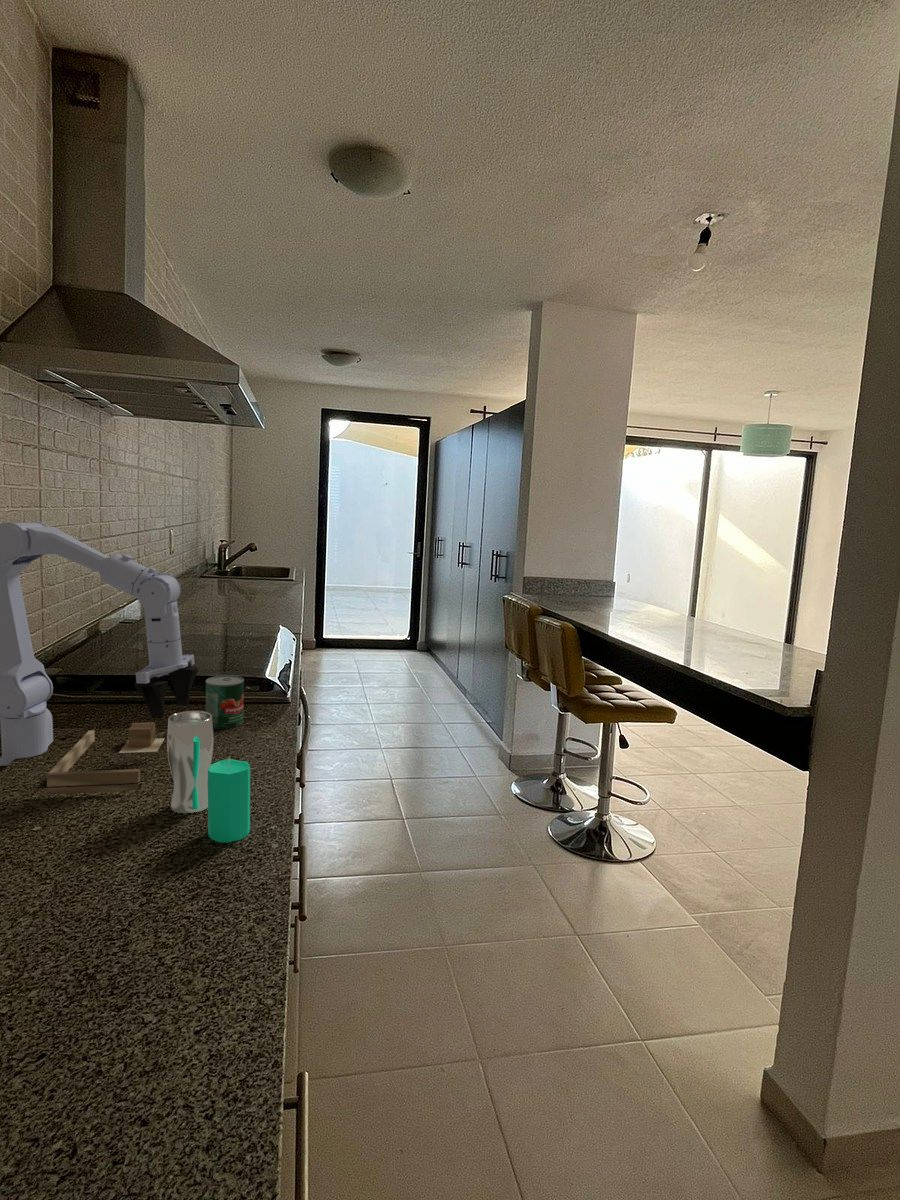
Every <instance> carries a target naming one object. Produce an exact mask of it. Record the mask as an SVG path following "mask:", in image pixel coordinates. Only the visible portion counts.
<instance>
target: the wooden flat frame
mask: <svg viewBox="0 0 900 1200" xmlns="http://www.w3.org/2000/svg"><path fill="white" fill-rule="evenodd" d="M95 733H96V731H95V730H94V729H93V730H88V731H87V732H86V733H85V734H83V736H82V737H81V738H80V739H79V740H78V741H77V742H76V744H75V745H73V747H72V748H71V749H70V750H68V751H67V753H66V754H65V755H64V756H63V757H62V758H61V759H60V760H59V761H58V763H56V765H54V766H53V768H51V770H50V771H48V773H47V774H46V787H47V788H46V789H47V790H46V791H47V795H64V794H86V793H107V792H108V793H109V792H111V793H112V792H131V791H133V790H135V791H140V789H141V787H142V786H141V785H143V783H140V781H141V777H140V776H141V769H140V768H133V769H132V768H131V769H108V770H107V769H106V770H105V769H104V770H103V769H102V770H82V771H81V770H78V771H76V770H75V771H70V769H71V768H72V767H73V766H74V764H76V762H77V761H78V760H79V759H80V758H81V757H82V756H83V754H84V753H85V752H86V751H87V750H88V749H89V747H91V745H92V744H93V743H94V742H95V741H96V737H95ZM165 739H166V738H165V737H161V738H160V737H157V738H156V737H155V740H154V742H153V744H152V745H151V746H144V747H129V744H128V740H127V741H126V742H125V744H123V746H122V747H121V749H120V750H119V752H118V754H131V753H157V752H158V751H159V749H160V748H161V746H162V744H163V743H164V741H165ZM135 791H134V792H135Z"/></svg>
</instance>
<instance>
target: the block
mask: <svg viewBox="0 0 900 1200" xmlns="http://www.w3.org/2000/svg"><path fill="white" fill-rule="evenodd" d="M127 732H128V733H127V734H128V737H127V739H128V740H127V741H128V744H129V747H144V746H151V745H152V744H153V742H154V740H155V738H156V722H132V724H131V725H130V726H129V728H128V729H127Z"/></svg>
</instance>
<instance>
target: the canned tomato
mask: <svg viewBox="0 0 900 1200" xmlns="http://www.w3.org/2000/svg"><path fill="white" fill-rule="evenodd" d="M244 681H245V679H244V678H243V677H241V676H238V675H216V676H212V677H208V678H207V679H206V680H205V712H208V713H210V714H211V715H212V725H213V729H219V730H220V729H222V730H223V729H232V728H236V727H239V726H241V725H242V724H243V723H244V707H245V706H244V704H245V703H244V697H245V695H244V692H245V691H244V689H245V688H244Z"/></svg>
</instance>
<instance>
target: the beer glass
mask: <svg viewBox="0 0 900 1200" xmlns="http://www.w3.org/2000/svg"><path fill="white" fill-rule="evenodd" d="M166 735H167V736H166V748H167V749H166V750H167V751H166V752H167V757H168V758H167V759H168V765H169V768H170V770H169V771H170V774H171V778H172V789H173V791H172V797H171V801H170V802H171V803H170V809H171V811H173V812H174V813H176V812H177V813H176V814H180V813H183V814H182V815H188V814H187V813H191V814H195V813H196V812H197V813H200V812H203V811H206V809H207V810H208V769H209V767H210V765H211V764H212V759H213V753H214V728H213V725H212V715H211V714H210V713H208V712H206V711H202V710H187V711H180V712H177V713H173V714H172V715H170V716H169V717H168V718H167V733H166ZM194 812H195V813H194Z"/></svg>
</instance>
